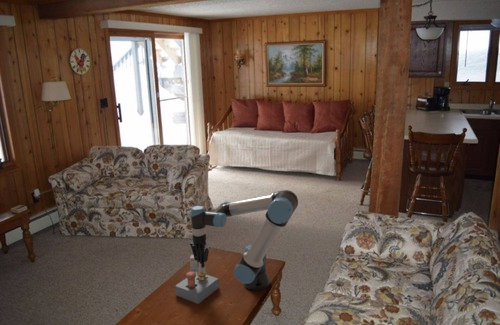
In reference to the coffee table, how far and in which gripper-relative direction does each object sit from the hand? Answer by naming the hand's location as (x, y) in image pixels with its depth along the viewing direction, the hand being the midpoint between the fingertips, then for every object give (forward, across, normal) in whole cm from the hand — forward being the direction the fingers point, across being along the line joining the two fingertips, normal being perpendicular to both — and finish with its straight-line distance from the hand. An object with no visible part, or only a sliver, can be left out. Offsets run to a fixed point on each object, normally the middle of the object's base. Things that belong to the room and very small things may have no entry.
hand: (201, 271), depth 232 cm
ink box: (+10, +12, -10) cm, 19 cm away
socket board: (+10, 0, +4) cm, 11 cm away
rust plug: (+6, 0, +9) cm, 11 cm away
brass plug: (+9, 0, 0) cm, 9 cm away
